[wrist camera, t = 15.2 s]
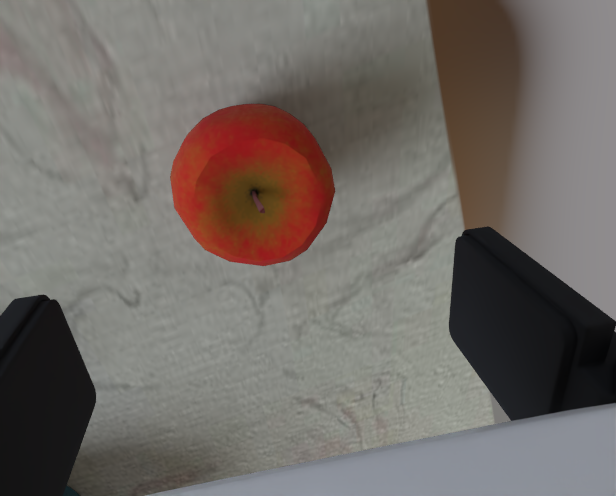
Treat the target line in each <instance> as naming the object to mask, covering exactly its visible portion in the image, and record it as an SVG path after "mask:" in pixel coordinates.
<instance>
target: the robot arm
mask: <svg viewBox="0 0 616 496" xmlns="http://www.w3.org/2000/svg"><path fill="white" fill-rule="evenodd" d="M615 326H616V321H615V320H613V319H612V318H610V317H609V316H608V315H606V314H605V313H604V312H602V311H601V310H600V309H599V308H597V307H596V306H595V305H593V304H592V303H591V302H589V301H588V300H587V299H585V298H584V297H583V296H581V295H580V294H579V293H577V292H576V291H575V290H573V289H572V288H570V287H569V286H568V285H567V284H565V283H564V282H563V281H561V280H560V279H559V278H557V277H556V276H555V275H553V274H552V273H551V272H549V271H548V270H547V269H545V268H544V267H542V266H541V265H540V264H539V263H537V262H536V261H535V260H533V259H532V258H531V257H529V256H528V255H527V254H526V253H524V252H523V251H521V250H520V249H519V248H517V247H516V246H515V245H514V244H512V243H511V242H509V241H508V240H507V239H505V238H504V237H503V236H501V235H500V234H499V233H498V232H496V231H495V230H494V229H492V228H491V227H482V228H475V229H469V230H465V231H464V232H463V234H462V236H461V237H458V238H457V239H456V243H455V254H454V267H453V280H452V292H451V305H450V318H449V331H450V335H451V337H452V339H453V341H454V342H455V344H456V345H457V346H458V348H459V349H460V351H461V352H462V353H463V355H464V356H465V357H466V359H467V360H468V362H469V363H470V364H471V366H472V367H473V369H474V370H475V371H476V373H477V374H478V375H479V377H480V378H481V380H482V381H483V382H484V384H485V385H486V386H487V388H488V389H489V391H490V392H491V393H492V395H493V396H494V397H495V399H496V400H497V402H498V403H499V404H500V406H501V407H502V409H503V410H504V411H505V413H506V414H507V415H508V417H509V418H510V420H511V421H509V422H504V423H498V424H493V425H488V426H483V427H478V428H473V429H468V430H463V431H458V432H453V433H448V434H443V435H438V436H433V437H428V438H423V439H418V440H413V441H408V442H403V443H397V444H392V445H387V446H382V447H377V448H372V449H368V450H363V451H358V452H353V453H348V454H343V455H338V456H333V457H328V458H323V459H318V460H313V461H308V462H303V463H299V464H294V465H289V466H284V467H279V468H274V469H269V470H264V471H260V472H255V473H250V474H245V475H240V476H235V477H230V478H225V479H221V480H216V481H211V482H206V483H201V484H197V485H192V486H187V487H182V488H177V489H173V490H168V491H163V492H158V493H154V494H149V495H144V496H616V332H615V331H614V330H615ZM95 403H96V392H95V388H94V385H93V383H92V380H91V378H90V376H89V373H88V371H87V369H86V366H85V364H84V361H83V359H82V357H81V354H80V352H79V350H78V347H77V345H76V342H75V340H74V338H73V335H72V333H71V331H70V328H69V326H68V323H67V321H66V319H65V316H64V314H63V311H62V309H61V307H60V305H59V303H58V302H57V301H56V300H50V299H49V298H48V297H47V296H46V295H38V296H31V297H25V298H18V299H14V300H13V301H12V302H11V303H10V305H9V306H8V307H7V308H6V310H5V311H4V312H3V313H2V315H1V316H0V496H63V494H64V491H65V488H66V485H67V482H68V480H69V477H70V474H71V471H72V468H73V466H74V463H75V460H76V457H77V454H78V451H79V449H80V446H81V443H82V440H83V437H84V435H85V432H86V429H87V426H88V423H89V421H90V418H91V415H92V412H93V409H94V406H95Z"/></svg>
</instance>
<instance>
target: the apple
mask: <svg viewBox="0 0 616 496" xmlns="http://www.w3.org/2000/svg"><path fill="white" fill-rule="evenodd" d="M170 179H171V186H172V193H173V201H174V208H175V209H176V211H177V212H178V214H179V215H180V217H181V219H182V220H183V222H184V223H185V225H186V226H187V228H188V229H189V231H190V232H191V234H192V235H193V237H194V238H195V239H196V241H197V242H198V243H199V244H200V245H201V246H202V247H203V248H204V249H205V250H207V251H209V252H211V253H213V254H215V255H217V256H219V257H221V258H223V259H226V260H228V261H230V262H237V263H245V264H253V265H260V266H266V265H271V264H276V263H281V262H286V261H290V260H292V259H293V258H295V257H296V256H298V255H300V254H301V253H303V252H304V251H306V250H307V249H308V248H309V246H310V245H311V244H312V242H313V241H314V239H315V238H316V237H317V235H318V234H319V232H320V231H321V230H322V228H323V227H324V225H325V224H326V223H327V219H328V215H329V212H330V208H331V204H332V201H333V197H334V193H335V187H334V181H333V175H332V170H331V167H330V165H329V164H328V162H327V160H326V158H325V156H324V154H323V152H322V151H321V149H320V147H319V145H318V143H317V141H316V139H315V138H314V136H313V135H312V134H311V133H310V131H309V130H308V129H307V128H306V126H305V125H304V124H303V123H301V122H300V121H299V120H297V119H296V118H295V117H293V116H292V115H291V114H289V113H287V112H286V111H284V110H281V109H279V108H277V107H275V106H269V105H264V104H243V105H236V106H230V107H227V108H223V109H220V110H217V111H216V112H214V113H212V114H210V115H209V116H207V117H205V118H203V119H202V120H201V121H200V122H199V123H198V124H197V125H196V126H195V127H194V128H193V129H192V130H191V131H190V132H189V133H188V135H187V136H186V138H185V140H184V141H183V143H182V145H181V147H180V149H179V151H178V153H177V155H176V157H175V159H174V161H173V166H172V171H171V176H170Z"/></svg>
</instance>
